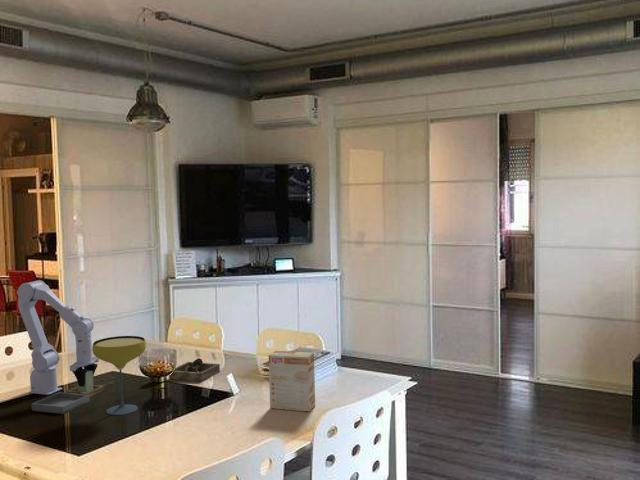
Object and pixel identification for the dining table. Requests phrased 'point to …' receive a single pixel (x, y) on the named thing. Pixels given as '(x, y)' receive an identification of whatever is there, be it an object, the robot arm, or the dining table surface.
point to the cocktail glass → (119, 361)
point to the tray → (60, 402)
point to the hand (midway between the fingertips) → (85, 384)
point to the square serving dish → (206, 373)
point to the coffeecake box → (292, 380)
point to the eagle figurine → (194, 366)
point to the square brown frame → (95, 390)
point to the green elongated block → (87, 382)
